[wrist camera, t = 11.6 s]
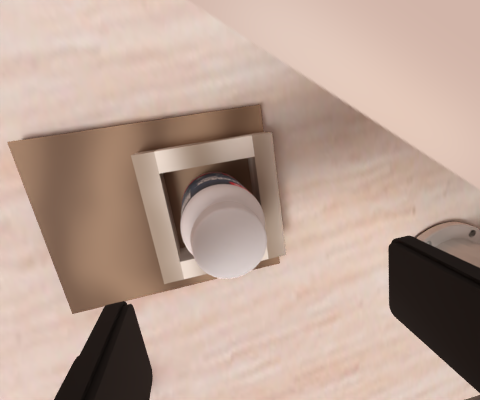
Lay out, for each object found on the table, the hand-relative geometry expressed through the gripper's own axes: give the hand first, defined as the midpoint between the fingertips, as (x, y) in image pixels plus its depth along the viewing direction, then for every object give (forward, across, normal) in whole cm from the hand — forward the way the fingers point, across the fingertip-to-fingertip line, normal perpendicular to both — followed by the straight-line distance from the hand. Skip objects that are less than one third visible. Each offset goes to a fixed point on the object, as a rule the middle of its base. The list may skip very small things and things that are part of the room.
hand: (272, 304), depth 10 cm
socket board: (+15, +5, -1) cm, 16 cm away
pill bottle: (+14, +1, 0) cm, 14 cm away
